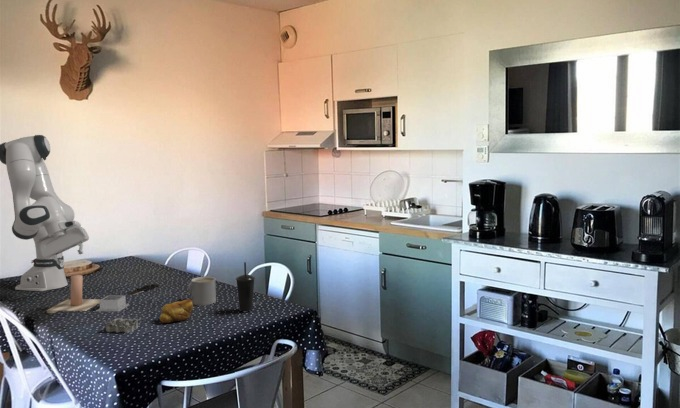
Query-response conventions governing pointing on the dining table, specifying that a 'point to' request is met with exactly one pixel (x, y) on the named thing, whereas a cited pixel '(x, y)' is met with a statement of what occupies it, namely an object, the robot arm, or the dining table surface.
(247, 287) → the drinking cup
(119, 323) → the egg carton
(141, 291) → the knife
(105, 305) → the holder
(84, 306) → the board
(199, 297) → the coffee mug
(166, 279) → the dining table surface
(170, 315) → the bread roll
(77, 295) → the dowel
